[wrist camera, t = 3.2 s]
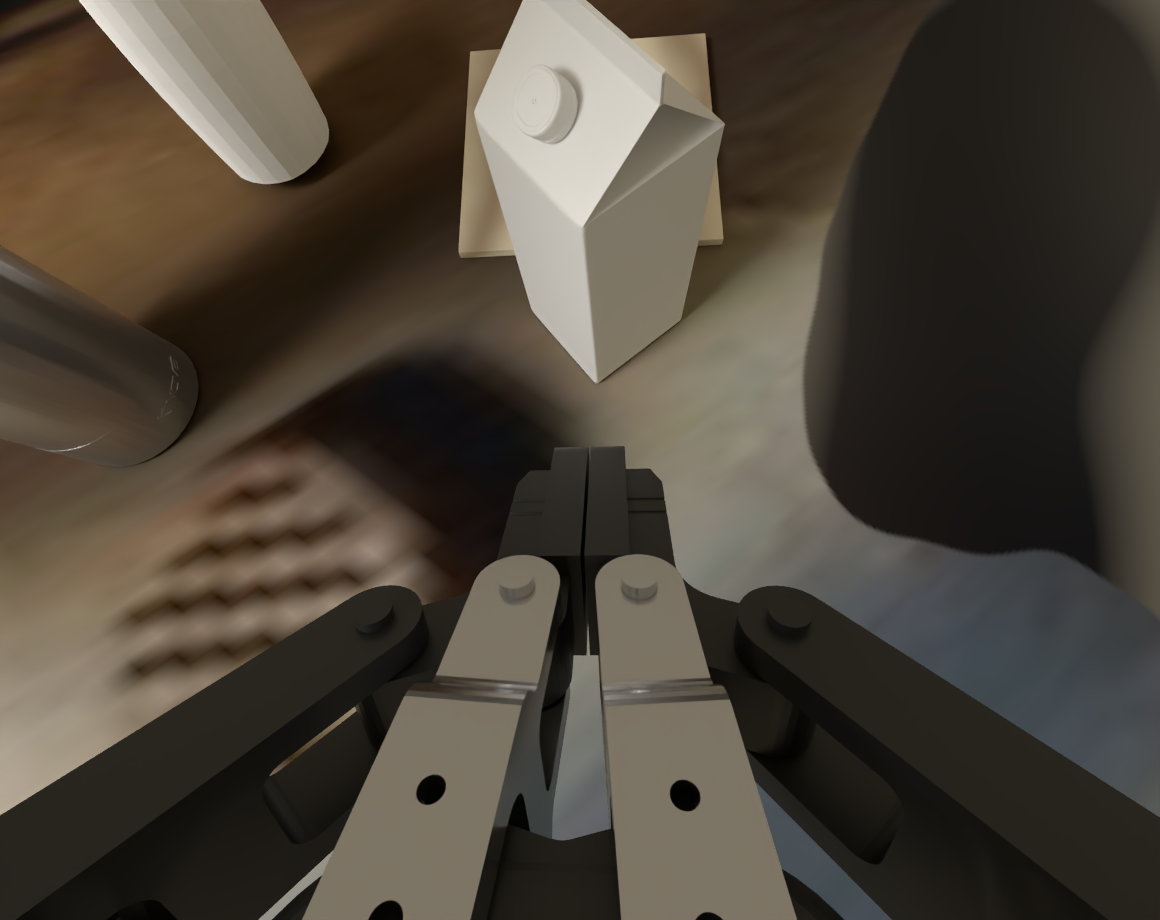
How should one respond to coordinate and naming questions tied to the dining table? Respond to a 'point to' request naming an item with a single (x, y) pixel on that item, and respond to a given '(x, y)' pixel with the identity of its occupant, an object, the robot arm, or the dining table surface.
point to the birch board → (479, 197)
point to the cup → (223, 79)
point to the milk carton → (596, 178)
